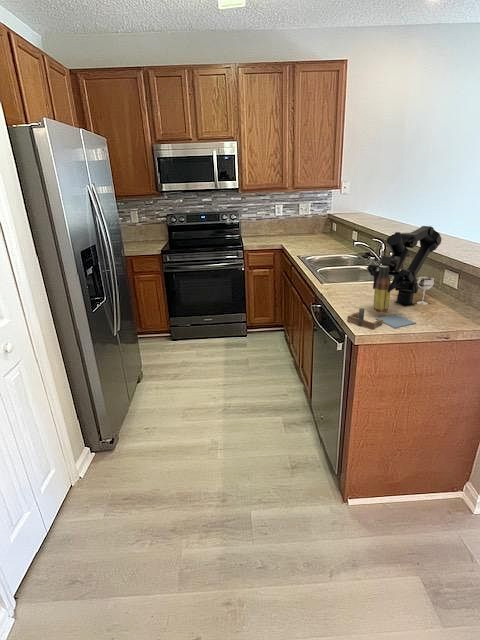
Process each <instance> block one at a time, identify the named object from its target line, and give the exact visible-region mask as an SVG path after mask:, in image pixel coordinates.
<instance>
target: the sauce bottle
mask: <svg viewBox="0 0 480 640" xmlns="http://www.w3.org/2000/svg"><path fill="white" fill-rule="evenodd" d="M378 266H379V276H378V278H377V280H376V283H375V289H374V295H373V310H374V312H376V313H388V311H389V308H390V297H391V291H390V292H388V288H389V286H390V285H391V283H392V281H391V279H390V276H389V275H388V272H389V265H383V264H379V265H378Z"/></svg>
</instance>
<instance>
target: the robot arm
mask: <svg viewBox="0 0 480 640" xmlns="http://www.w3.org/2000/svg"><path fill="white" fill-rule="evenodd" d="M418 242H419V246H420V247H419V248H418V250H417V252H416V254H415V256H414V257H413V258H412V261H411V262H410V264H409V266H408V268H407V269H401V268H403V267H404V262H405V260H406V258H408V257H410V251H409V249H413V248H415V247H416V246H417V245H418ZM386 244H387V247H389V250H390V252H391V253H392V254H391V255H390V256H388V255H387V256H386V255H382V256H381V259H380V261H379V265H378V264H372V263H369V264H368V265H367V267H366V270H367V271H368V273H369V275H371V276H372V277H373V284H372V285H373V286H372V289H373V290H375V283H376V280H377V278H378V276H379V266H380V265H389V272H388V276H391V277H393V279H392V281H391V284H390V286H389V288H388V292H390V293H391V291H393V290H394V289H395V291H398V293H397V295H396V296H397V298H396V300H395V301H394V303H395V304H397V305H400V306H402V307H409V306H413V305H415V304H416V303H415V302H413V301H414V294H418V291H419V289H420V287H419V286H418V279H417V276H418V273H419V272H420V270H421V268H422V267H423V265H424V263H425V261H426V260H427V258H428V257H429V254H430V253H432V252H434V251H435V250H437V249H438V247H440V246H441V244H442V237H441V234H440V232H438V231H436V230H435V229H434V227H433V226H430V225H429V226H428V225H422V226H420V227H419V228H417V229H415V230H413V231H411V232H402V233H401V232H399V231H395V233H393V234H390V236H388V237H387V239H386Z"/></svg>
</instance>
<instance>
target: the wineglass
mask: <svg viewBox="0 0 480 640" xmlns="http://www.w3.org/2000/svg"><path fill="white" fill-rule="evenodd" d="M434 280H435V278H434V277H431V276H423V275H422V276H419V277H418V279H417V285H418V287H419V289H422V291H423V293H422V299H421V300H422V301H421V300H420V301H417V302H416V303H417V304H418V305H425V306H426V305H428V304H429V303H428V302H427V301H424V298H425V293H426V291H427V290H429V289H431V288H432V287H433V286H434V283H435V282H434Z"/></svg>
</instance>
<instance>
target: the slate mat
mask: <svg viewBox="0 0 480 640" xmlns="http://www.w3.org/2000/svg"><path fill="white" fill-rule="evenodd" d="M379 319H383V324H384V325H387V326H389V327H390V328H393V329H399V328H404V327H408V326H412V325H416V324H417V322H415V321H413V320H411V319H408V318H406V317H403V316H401V315H399V314H397V313H395V314H390V315H385V316H381V317H376V318H375V321H377V320H379Z"/></svg>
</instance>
